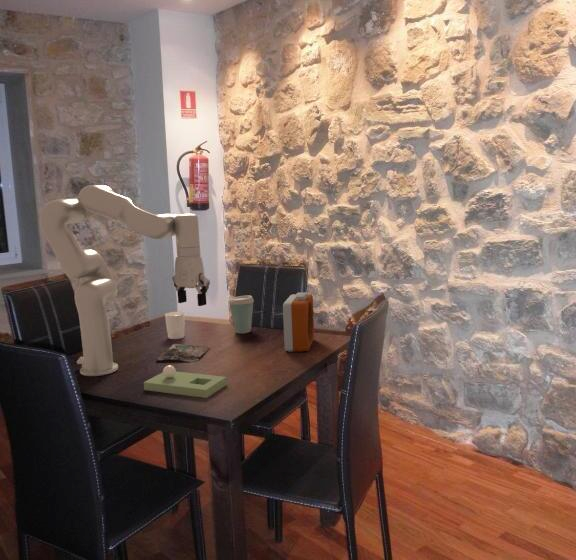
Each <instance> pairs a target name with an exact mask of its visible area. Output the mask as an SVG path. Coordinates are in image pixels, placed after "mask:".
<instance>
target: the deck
mask: <svg viewBox="0 0 576 560" xmlns="http://www.w3.org/2000/svg"><path fill="white" fill-rule="evenodd" d="M227 378H228V377H227V376H221V375H212V374H211V375H210V374H203V373H193V372H192V373H191V372H186V371H185V372H184V371H177V370H176V374H175V375H174V377H172V378H166V377H165V376H164V375H163V371H162V372H161V373H159V374H157V375H155V376H152V377H151V378H149V379H147V380H146V381H144V382H143V390H144V391H150V392H159V393H166V394H172V395H173V394H174V395H178V396H179V395H181V396H189V397H195V398H204V399H207V398H209V397H211V396H212V395H213V394H215V393H216V392H218V391H220V390H221V389H222V388H224V387H226V386H227V385H228V379H227Z"/></svg>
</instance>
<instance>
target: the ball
mask: <svg viewBox="0 0 576 560" xmlns="http://www.w3.org/2000/svg"><path fill="white" fill-rule="evenodd" d="M162 369H163V370H162V372H163V375H164V376H165V377H166V378H172V377H174V375H175V374H176V371H177V369H176V368H175V366H174V365H170V364H169V365H166V366H165V367H164V368H162Z"/></svg>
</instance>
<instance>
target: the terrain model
mask: <svg viewBox="0 0 576 560" xmlns="http://www.w3.org/2000/svg"><path fill="white" fill-rule="evenodd" d="M210 349H211V347H208V346H203V345H192V344H185V343H173V344H172V345H171V346H170V347H169V348H167V349H166V350H164V351H163V352H162V353H160V355H159V356H158V357H157V358H156V362H155V363H188V362H189V363H196V362H199V361H200V360H201V359H202V358H203V357H204V356H205V355H206V354H207V352H208V351H209V350H210Z"/></svg>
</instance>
